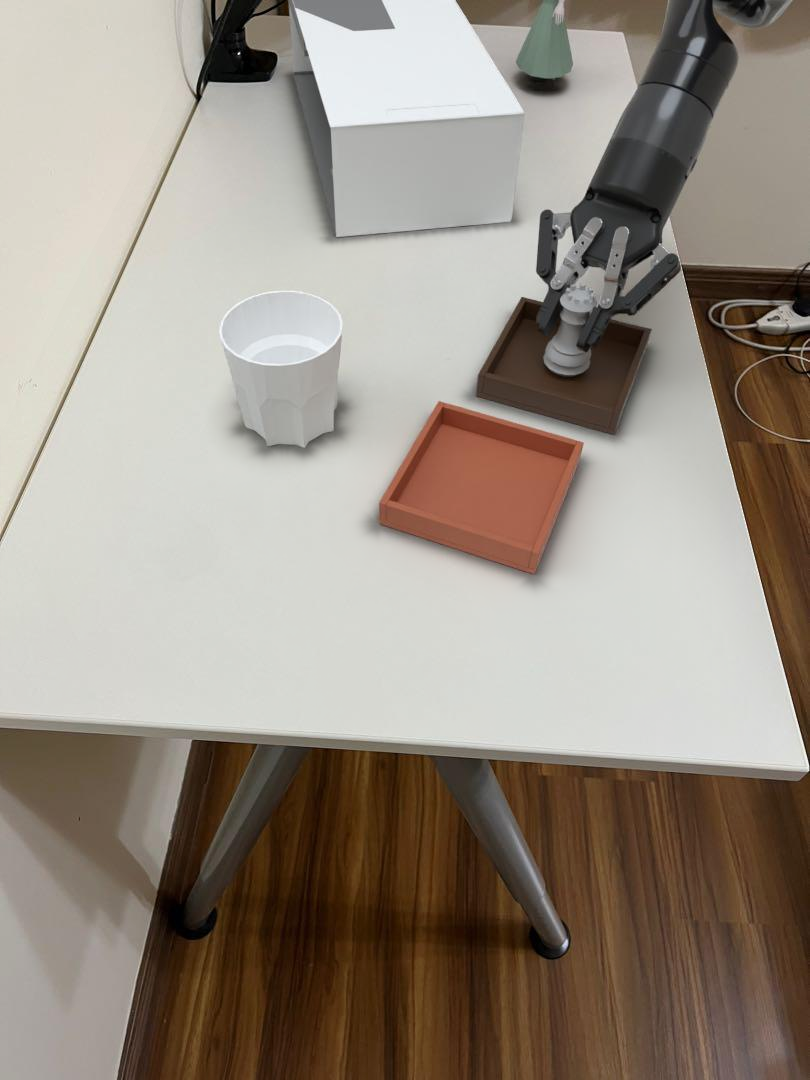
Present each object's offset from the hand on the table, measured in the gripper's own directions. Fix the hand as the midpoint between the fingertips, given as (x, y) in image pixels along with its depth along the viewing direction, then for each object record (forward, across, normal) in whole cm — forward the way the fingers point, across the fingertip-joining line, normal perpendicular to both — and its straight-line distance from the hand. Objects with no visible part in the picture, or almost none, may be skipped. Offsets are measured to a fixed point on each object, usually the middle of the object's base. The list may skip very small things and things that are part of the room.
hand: (562, 340), depth 77 cm
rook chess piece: (+2, 0, +4) cm, 5 cm away
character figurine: (-38, -34, +46) cm, 68 cm away
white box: (-18, -41, +26) cm, 52 cm away
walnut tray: (+2, 0, +5) cm, 5 cm away
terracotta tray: (+15, +2, -8) cm, 17 cm away
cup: (+16, -17, -9) cm, 25 cm away
